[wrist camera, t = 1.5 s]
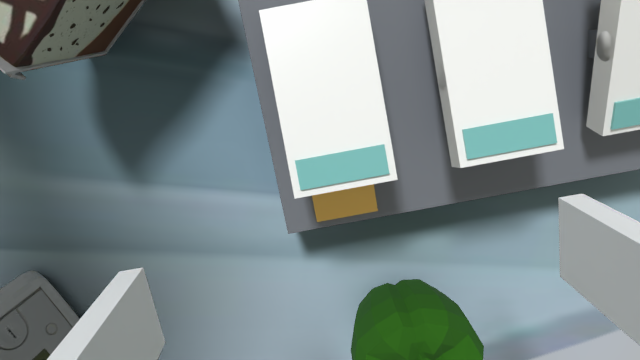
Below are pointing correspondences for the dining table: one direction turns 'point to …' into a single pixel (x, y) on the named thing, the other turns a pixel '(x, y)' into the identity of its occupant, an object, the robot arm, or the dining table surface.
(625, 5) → the white rectangular block
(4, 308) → the digital clock
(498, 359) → the dining table surface
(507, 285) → the dining table surface
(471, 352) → the bell pepper
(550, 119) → the rocker
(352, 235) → the dining table surface
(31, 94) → the dining table surface
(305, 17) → the rocker
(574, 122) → the switch unit
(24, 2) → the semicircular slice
